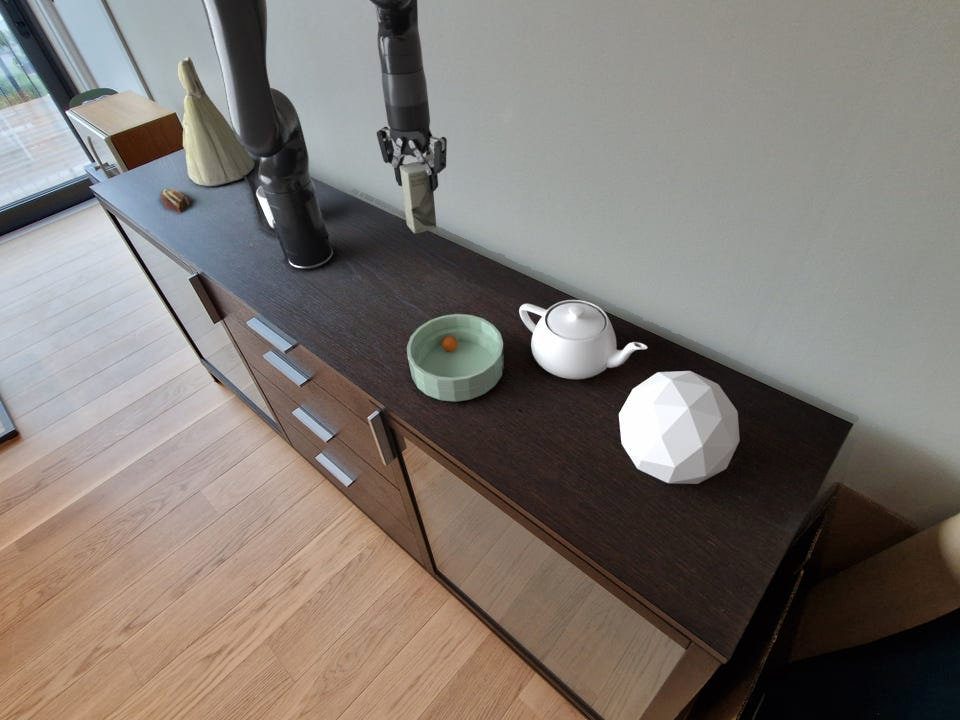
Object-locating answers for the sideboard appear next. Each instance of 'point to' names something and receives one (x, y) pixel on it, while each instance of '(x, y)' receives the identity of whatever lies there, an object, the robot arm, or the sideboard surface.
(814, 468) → the sideboard surface
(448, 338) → the ball
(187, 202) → the brown striped bar
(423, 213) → the box
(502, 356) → the bowl
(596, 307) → the teapot
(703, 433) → the geometric shape
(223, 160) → the sculpture
